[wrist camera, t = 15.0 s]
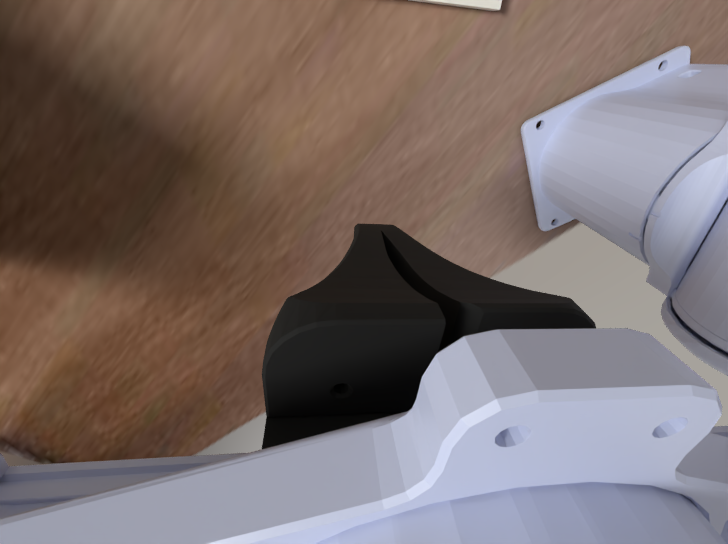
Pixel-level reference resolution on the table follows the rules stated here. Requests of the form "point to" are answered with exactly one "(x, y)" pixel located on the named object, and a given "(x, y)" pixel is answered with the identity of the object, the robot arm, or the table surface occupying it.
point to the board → (469, 3)
